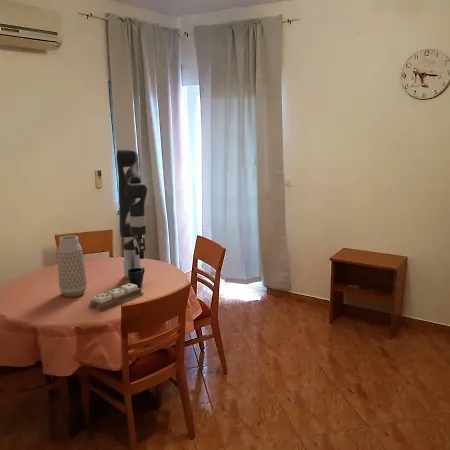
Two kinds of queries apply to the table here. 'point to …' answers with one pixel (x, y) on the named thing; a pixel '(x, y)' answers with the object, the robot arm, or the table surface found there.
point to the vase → (71, 267)
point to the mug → (136, 276)
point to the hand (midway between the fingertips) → (139, 256)
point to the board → (116, 300)
